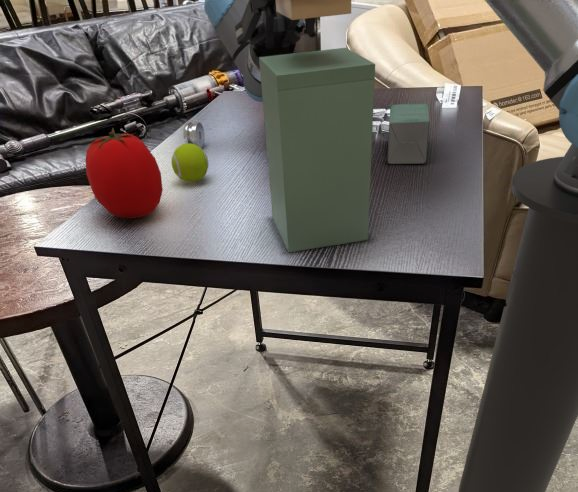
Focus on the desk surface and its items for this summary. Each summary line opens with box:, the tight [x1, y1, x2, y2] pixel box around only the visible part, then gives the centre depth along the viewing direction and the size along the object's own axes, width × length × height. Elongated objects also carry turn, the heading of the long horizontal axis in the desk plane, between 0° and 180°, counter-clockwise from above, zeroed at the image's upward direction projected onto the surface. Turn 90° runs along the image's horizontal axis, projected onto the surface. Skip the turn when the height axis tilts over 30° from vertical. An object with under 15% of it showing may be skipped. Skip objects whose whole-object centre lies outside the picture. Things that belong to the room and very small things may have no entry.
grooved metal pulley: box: [183, 121, 206, 149], centre depth 113 cm, size 5×3×5 cm, turn 166°
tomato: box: [85, 127, 164, 220], centre depth 85 cm, size 12×12×13 cm
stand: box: [259, 47, 376, 253], centre depth 73 cm, size 12×12×22 cm
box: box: [387, 103, 431, 165], centre depth 102 cm, size 7×14×8 cm, turn 171°
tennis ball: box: [171, 143, 209, 183], centre depth 97 cm, size 7×7×7 cm
